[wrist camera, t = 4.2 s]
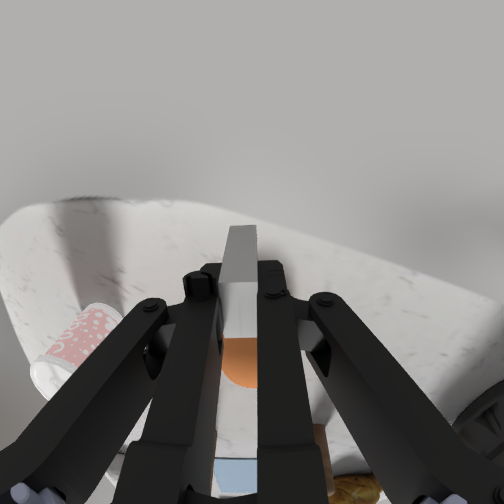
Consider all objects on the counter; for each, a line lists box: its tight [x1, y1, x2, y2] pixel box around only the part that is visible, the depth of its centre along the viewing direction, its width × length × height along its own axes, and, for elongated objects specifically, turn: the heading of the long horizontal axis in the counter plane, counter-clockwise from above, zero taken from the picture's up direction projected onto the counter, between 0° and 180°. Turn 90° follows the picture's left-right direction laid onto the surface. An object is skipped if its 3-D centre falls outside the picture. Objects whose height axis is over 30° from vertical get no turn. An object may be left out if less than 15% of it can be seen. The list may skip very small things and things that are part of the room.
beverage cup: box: [30, 303, 123, 401], centre depth 19 cm, size 6×6×14 cm
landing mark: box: [213, 458, 257, 493], centre depth 37 cm, size 14×14×1 cm
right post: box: [313, 424, 335, 496], centre depth 27 cm, size 3×3×9 cm
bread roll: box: [328, 474, 383, 504], centre depth 36 cm, size 13×10×8 cm
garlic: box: [107, 453, 125, 480], centre depth 34 cm, size 6×5×5 cm
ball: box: [221, 334, 257, 388], centre depth 23 cm, size 6×6×6 cm
